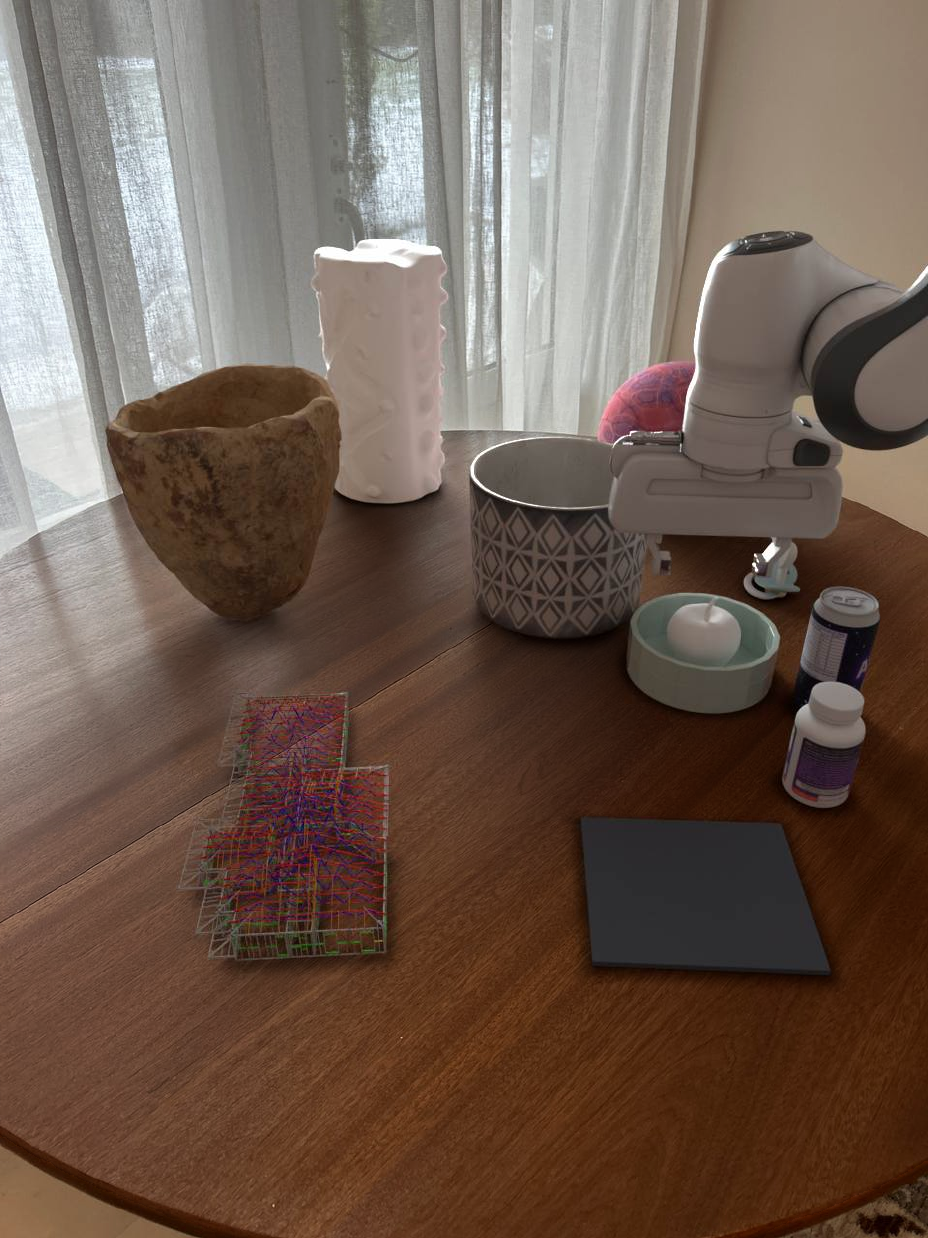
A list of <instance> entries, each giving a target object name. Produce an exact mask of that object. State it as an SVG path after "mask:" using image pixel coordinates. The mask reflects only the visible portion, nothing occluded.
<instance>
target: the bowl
mask: <svg viewBox="0 0 928 1238" xmlns="http://www.w3.org/2000/svg"><path fill="white" fill-rule="evenodd" d="M338 421H339V410H338V407H337V403H336V400H335V397H334V395H333V393H332V392H331V390H330V387H329V385H328V382H327V381H326V380H325V377H323V376H321V375H319V374H318V373H315V372H313V371H311V370H309V369H306V368H303V367H299V366H294V365H288V366H287V365H286V366H280V365H274V364H255V363H249V362H248V363H244V364H243V363H241V364H236V365H227V366H223V367H220V368H217V369H214V370H210V371H206V372H203V373H201V374H198V375H197V376H195V377H193V378H191V379H190V380H187V381H184V382H182V383H179V384H176V385H173V386H171V387H168V388H167V389H165V390H163V391H159V392H158V393H156V394H155V395H153V396H150V397H148V398H143V399H136V400H133V401H131V402H128V403H126V404H125V405H123V406H122V407H120V408H119V409H118V412H117V414H116V417H115V418H114V419H113V420H111V421H109V422H108V423H107V425H106V427H105V430H104V431H105V436H106V447H107V451H108V453H109V454H108V455H109V457H110V461H111V465H112V467H113V470H114V473H115V477H116V480H117V482H118V485H119V486H120V489H121V492H122V494H123V497H124V500H125V502H126V505H127V509H128V512H129V514H130V517H131V519H132V520H133V522H134V524H135V526H136V528H137V530H138V532H139V533H140V534H141V535H142V537H143V540H144V541H145V543H146V545H147V546H148V547H149V549H150V550H151V551H152V552H153V553H154V555H155V557H156V559H157V560H158V561H159V562H160V563H161V564H162V565H163V566H164V567H165V568H166V569H167V570H168V571H169V572H171V573H173V575H174V577H175V578H176V579H177V580H178V582H179V583H180V584H181V585H182V586H183V587H184V589H185V590H186V591H187V592H188V593H189V594H190V595H192V597H193V598H194V599H196V600H197V601H199V602H200V603H201V604H203V605H204V606H205V607H206V608H208V609H209V610H210V611H211V612H212V613H214V614H216V615H217V616H219V617H222V618H224V619H227V620H228V619H229V620H233V621H243V622H247V621H250V620H251V619H255V618H258V617H261V616H264V615H267V614H269V613H270V612H272V611H274V610H276V609H280V608H282V607H283V606H284V605H286V604H288V602H291V601H292V600H293V599H294V598H295V597H296V596H297V594H299V592H300V591H302V589H303V588H304V587H305V585H306V583H307V581H308V579H309V577H310V573H311V569H312V566H313V562H314V558H315V556H316V551H317V548H318V544H319V539H320V536H321V534H322V532H323V529H324V525H325V523H326V520H327V517H328V513H329V509H330V507H331V504H332V497H333V495H334V491H335V483H336V480H337V477H338V474H339V468H340V458H339V449H340V441H341V440H342V435H341V429H340V426H339V422H338Z"/></svg>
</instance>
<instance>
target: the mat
mask: <svg viewBox="0 0 928 1238" xmlns="http://www.w3.org/2000/svg"><path fill="white" fill-rule="evenodd" d="M580 828H581V830H580V831H581V841H582V853H583V866H584V879H585V880H584V881H585V890H586V892H585V893H586V904H587V916H588V928H589V941H590V943H589V944H590V955H591V966H593V967H607V968H610V967H611V968H633V969H635V968H636V969H657V970H658V969H660V970H681V971H682V970H683V971H684V970H687V971H711V972H712V971H713V972H735V973H737V972H738V973H740V972H741V973H760V974H785V975H787V974H788V975H812V976H830V975H831V973H832V970H831V967H830V964H829V961H828V957H827V955H826V952H825V949H824V946H823V944H822V940H821V937H820V934H819V931H818V928H817V925H816V922H815V919H814V917H813V913H812V911H811V908H810V905H809V902H808V899H807V896H806V893H805V890H804V887H803V883H802V881H801V878H800V875H799V872H798V869H797V866H796V863H795V860H794V858H793V855H792V851H791V848H790V846H789V843H788V840H787V837H786V834H785V831H784V828H783V825H782V823H775V822H748V821H747V822H744V821H717V820H713V821H712V820H687V819H684V820H683V819H653V818H651V819H650V818H626V817H625V818H620V817H593V816H592V817H591V816H590V817H589V816H581V817H580Z"/></svg>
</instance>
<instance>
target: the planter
mask: <svg viewBox="0 0 928 1238" xmlns="http://www.w3.org/2000/svg"><path fill="white" fill-rule="evenodd" d="M613 446H614V444H610V443H606V442H601V441H598V440H595V439H589V438H582V437H568V436H541V437H530V438H522V439H517V440H516V439H515V440H511V441H508V442H504V443H500V444H498V445H495V446H492V447H490V448H488V449H486V450H484V451H482V452H481V453H479V454H478V455H477V456H476V457H475V458H474V459H473V460H472V462H471V463H470V465H469V468H468V478H469V479H468V481H469V512H470V513H469V514H470V515H469V516H470V549H471V553H470V554H471V582H472V583H471V584H472V586H471V587H472V596H473V599H474V602H475V604H476V606H477V607H478V609H479V610H480V611H481V612H482V613H483V615H485V616H486V618H488V619H490V620H491V621H492V622H494V623H496V624H498V625H499V626H501V627H504V628H505V629H508V630H510V631H513V632H516V633H519V634H523V635H526V636H532V637H536V638H537V637H538V638H544V639H557V640H558V639H560V640H563V639H564V640H565V639H580V638H586V637H591V636H596V635H600V634H603V633H607V632H609V631H612V630H614V629H616V628H618V627H619V626H621V625H622V624H624V623H625V622H626V621H628V620H630V618H632V616H633V614H634V612H635V610H636V609H638V605H639V603H640V597H641V592H642V585H643V579H644V578H643V577H644V571H645V563H646V558H647V557H646V556H647V549H648V545H647V544H646V540H645V536H644V534H639V533H619V532H617V531H616V530H615V529H614V527H613V526H612V525H611V523H610V521H609V516H608V504H609V498H610V492H611V487H612V483H613V479H614V475H613V474H612V472H611V469H610V460H611V451H612V447H613Z"/></svg>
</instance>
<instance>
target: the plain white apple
mask: <svg viewBox="0 0 928 1238" xmlns="http://www.w3.org/2000/svg"><path fill="white" fill-rule="evenodd" d="M717 600H718V597H714V598H713V600H712V601H711V602H710V603H709V604H708V603H702V604H691V605H685V606H683V607H682V608H680V609H679V610H677V611H676V612H675V614H674V615H673V616H672V617H671V619H670V621H669V623H668V626H667V641H668V644H669V647H670V650H671V652H672V655H673V657H674V659H676V660H679V661H681V662H684V663H690V664H695V665H700V666H705V667H724V666H725V665H726V664H727V663H728V661H729V660H730V659H731V658H732V657H733V656H734V654H735V653H736V651H737V649H738V647H739V645H740V640H741V628H740V626H739V623H738V622H737V620H736V619H735V618H734V617H733V616H732V615H731V614H730V613H729V612H727V611H726V610H724V609H722V608H719V607H716V606H714V603H715V602H716V601H717Z"/></svg>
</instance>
